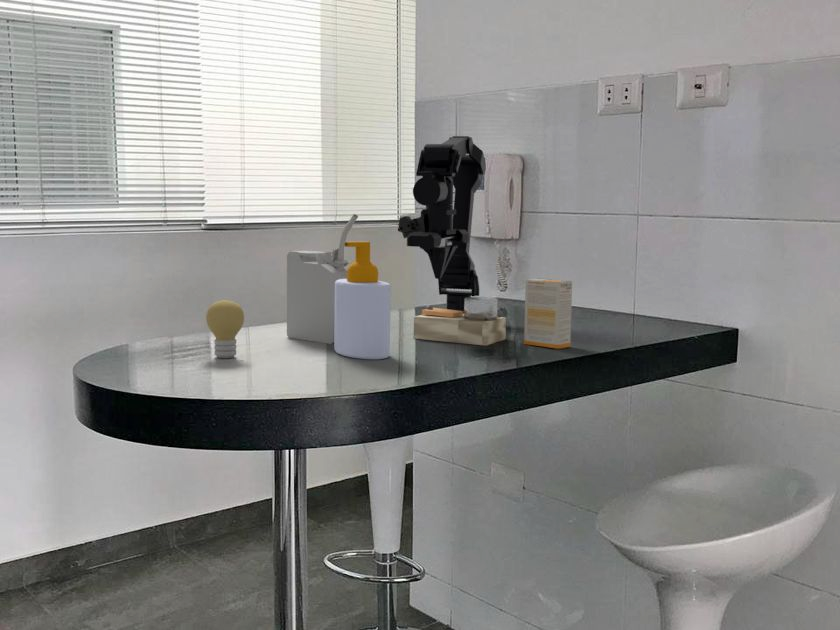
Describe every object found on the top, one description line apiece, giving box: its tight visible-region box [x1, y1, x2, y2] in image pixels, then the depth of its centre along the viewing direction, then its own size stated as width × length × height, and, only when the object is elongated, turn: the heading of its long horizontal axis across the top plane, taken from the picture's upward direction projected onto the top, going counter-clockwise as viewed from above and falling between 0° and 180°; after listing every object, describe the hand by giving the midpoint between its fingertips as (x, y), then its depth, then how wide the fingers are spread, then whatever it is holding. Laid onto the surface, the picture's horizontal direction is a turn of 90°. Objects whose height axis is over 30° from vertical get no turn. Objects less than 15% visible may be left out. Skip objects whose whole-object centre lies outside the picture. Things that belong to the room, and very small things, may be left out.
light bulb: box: [205, 299, 245, 359], centre depth 154 cm, size 6×6×10 cm
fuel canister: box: [286, 213, 359, 345], centre depth 175 cm, size 15×5×25 cm, turn 53°
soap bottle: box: [333, 241, 392, 361], centre depth 160 cm, size 13×8×20 cm, turn 37°
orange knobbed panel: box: [421, 304, 463, 318], centre depth 183 cm, size 7×5×2 cm
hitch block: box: [413, 314, 507, 346], centre depth 181 cm, size 10×16×4 cm, turn 63°
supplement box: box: [523, 277, 573, 350], centre depth 174 cm, size 8×5×13 cm, turn 47°
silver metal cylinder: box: [464, 296, 499, 321], centre depth 179 cm, size 7×7×8 cm
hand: (438, 278), depth 189 cm, fingers closed
